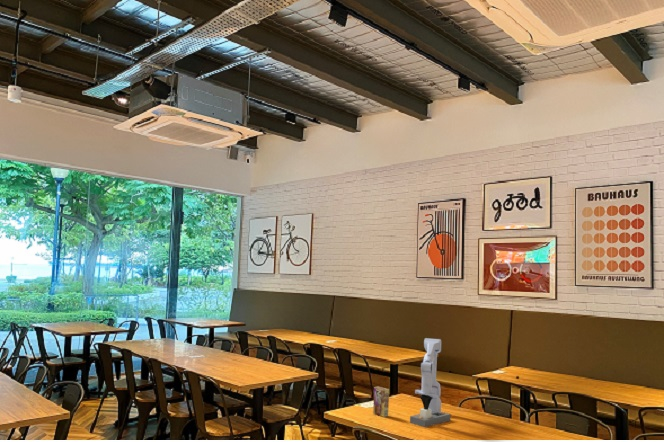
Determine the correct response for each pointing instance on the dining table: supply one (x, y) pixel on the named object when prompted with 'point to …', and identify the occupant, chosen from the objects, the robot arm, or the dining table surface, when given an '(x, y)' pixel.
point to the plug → (426, 413)
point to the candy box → (381, 401)
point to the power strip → (431, 419)
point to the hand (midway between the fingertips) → (426, 409)
